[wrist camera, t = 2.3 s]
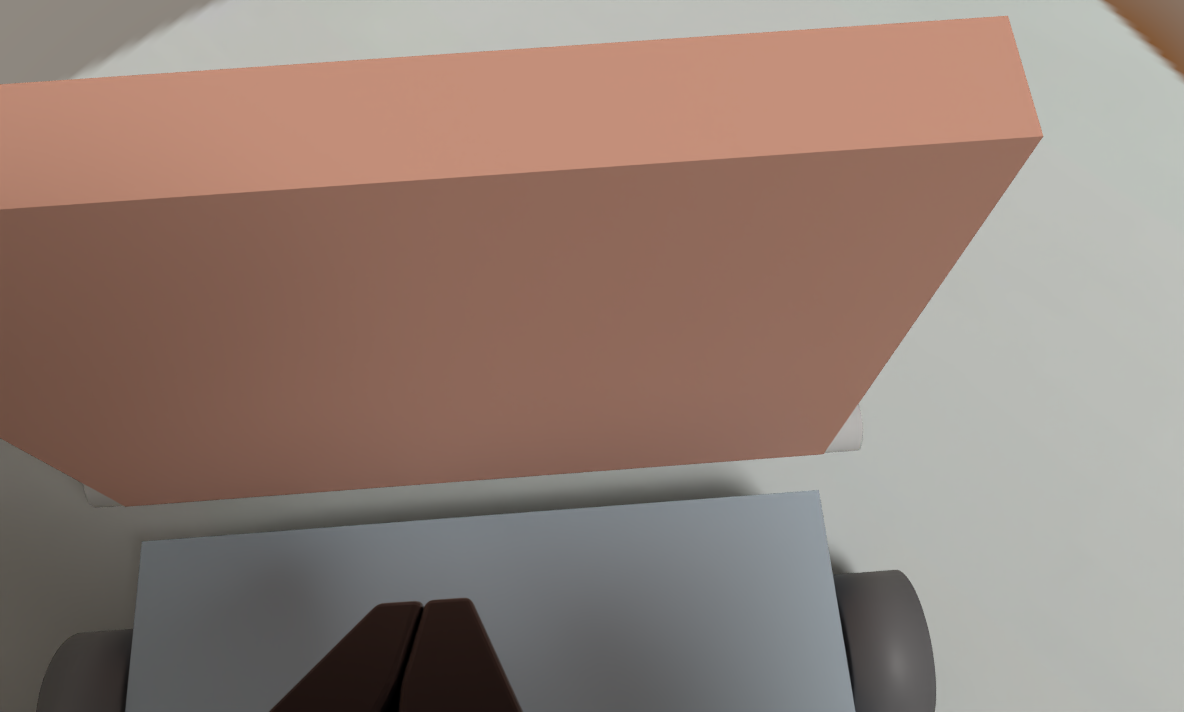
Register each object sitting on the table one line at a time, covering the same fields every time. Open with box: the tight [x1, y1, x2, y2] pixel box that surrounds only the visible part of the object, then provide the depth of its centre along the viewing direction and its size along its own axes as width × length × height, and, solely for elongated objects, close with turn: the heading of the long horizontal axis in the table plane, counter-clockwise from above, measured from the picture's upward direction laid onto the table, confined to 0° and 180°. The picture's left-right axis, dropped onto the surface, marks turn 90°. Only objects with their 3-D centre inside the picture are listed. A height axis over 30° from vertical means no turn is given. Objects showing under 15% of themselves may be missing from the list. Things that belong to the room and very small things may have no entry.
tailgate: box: [0, 16, 1043, 508], centre depth 12 cm, size 1×12×9 cm, turn 94°
